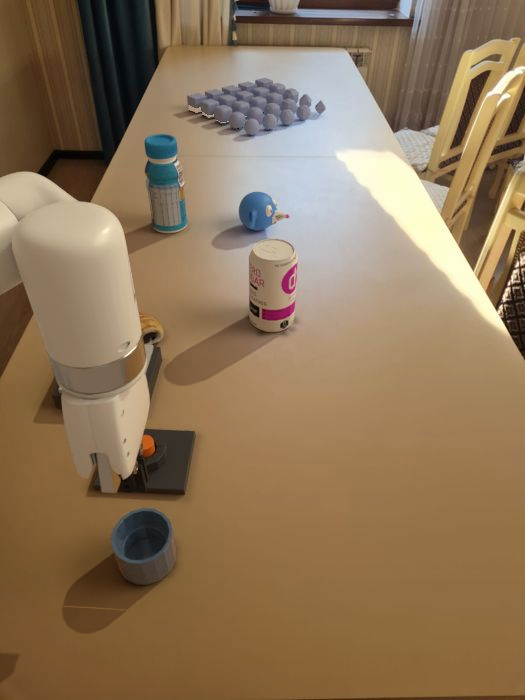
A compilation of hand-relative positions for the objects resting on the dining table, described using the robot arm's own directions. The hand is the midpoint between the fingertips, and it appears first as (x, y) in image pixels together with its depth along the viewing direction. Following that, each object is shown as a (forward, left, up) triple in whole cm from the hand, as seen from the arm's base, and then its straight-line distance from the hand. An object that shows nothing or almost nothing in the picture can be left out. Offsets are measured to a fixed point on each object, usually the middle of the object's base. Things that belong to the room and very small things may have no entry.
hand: (132, 484), depth 57 cm
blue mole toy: (+10, +80, -14) cm, 82 cm away
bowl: (0, -1, -14) cm, 14 cm away
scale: (-12, +28, -14) cm, 33 cm away
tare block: (-3, +13, -14) cm, 19 cm away
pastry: (-10, +40, -14) cm, 43 cm away
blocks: (+4, +161, -14) cm, 162 cm away
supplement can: (+13, +46, -14) cm, 50 cm away
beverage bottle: (-12, +80, -14) cm, 82 cm away
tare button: (-3, +13, -11) cm, 17 cm away
